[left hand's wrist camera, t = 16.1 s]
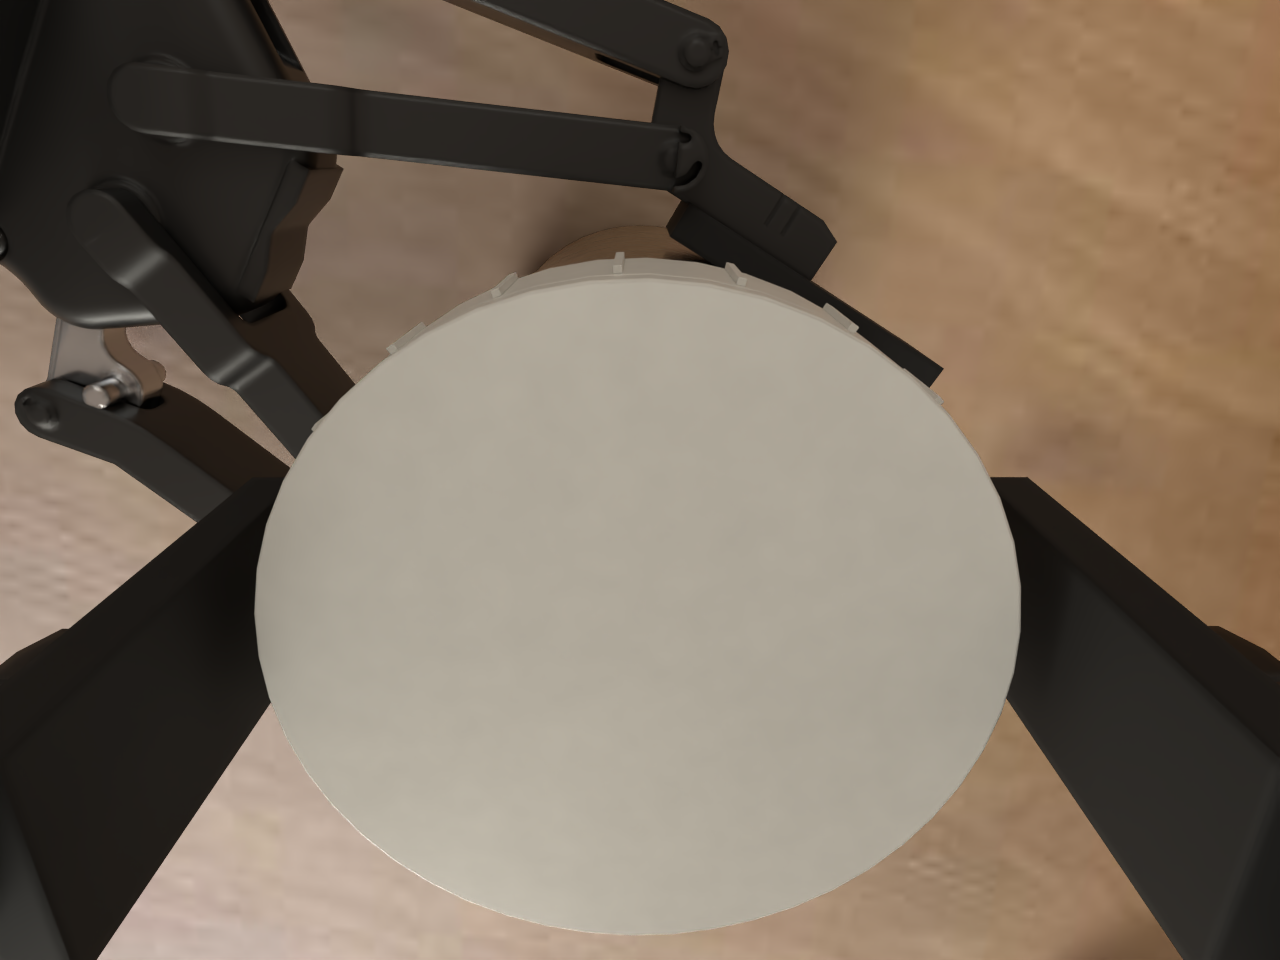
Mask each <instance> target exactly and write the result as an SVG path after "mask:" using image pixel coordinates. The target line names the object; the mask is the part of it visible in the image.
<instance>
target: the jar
mask: <svg viewBox="0 0 1280 960" xmlns="http://www.w3.org/2000/svg"><path fill="white" fill-rule="evenodd" d="M616 252H624V254H625V259H627V258H657V259H667V260H678V261H689V262H698V263H703V264H707V265H711V266H715V265H713V264H712V263H710V262H709V261H707V260H705V259H704V258H702V257H701V256H699V255H698V254H696V253H694V252H693V251H691V250H690V249H688V248H687V247H685V246H683V245H682V244H680V243H679V242H677V241H676V240H674V239H672V238H671V237H670V236H669V233H668V230H667V228H662V227H656V226H641V225H637V226H623V227H616V228H611V229H606V230H602V231H599V232H596V233H593V234H590V235H588V236H585V237H582V238H580V239H578V240H577V241H575V242H573V243H571V244H569V245H567V246H565V247H564V248H563V249H561V250H560V251H558V252H557V253H556V254H554V255H553V256H551V257H550V258H549V259H548V260H547V261H546V262H545V263H544V264H543V265H542V266H541V267H540V268H539V269H538V270H537V271H536V272H539V271H543V270H546V269H549V268H554V267H560V266H565V265H571V264H577V263H582V262H588V261H593V260H603V259H615V255H616ZM715 267H716V266H715ZM536 272H535V273H536Z"/></svg>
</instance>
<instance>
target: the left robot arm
mask: <svg viewBox="0 0 1280 960" xmlns="http://www.w3.org/2000/svg"><path fill="white" fill-rule="evenodd" d="M284 478H285V477H252V478H251V479H250V480H249V481H247V482H246V483H245V484H244V485H243V486H241V487H240V488H239V489H238V490H236V491H235V492H234V493H233V494H232V495H230V496H229V497H228V498H227V499H226V500H224V501H223V502H222V503H221V504H220V505H218V506H217V507H216V508H215V509H213V510H212V511H211V512H210V513H209V514H207V515H206V516H205V517H204V518H203V519H201V520H200V521H199V522H198V523H197V524H195V525H194V526H193V527H192V528H190V529H189V530H188V531H187V532H186V533H184V534H183V535H182V536H181V537H180V538H178V539H177V540H176V541H175V542H174V543H172V544H171V545H170V546H169V547H167V548H166V549H165V550H164V551H163V552H161V553H160V554H159V555H158V556H157V557H155V558H154V559H153V560H152V561H151V562H149V563H148V564H147V565H146V566H144V567H143V568H142V569H141V570H140V571H138V572H137V573H136V574H135V575H134V576H132V577H131V578H130V579H129V580H128V581H126V582H125V583H124V584H123V585H121V586H120V587H119V588H118V589H117V590H115V591H114V592H113V593H112V594H111V595H109V596H108V597H107V598H106V599H105V600H103V601H102V602H101V603H100V604H98V605H97V606H96V607H95V608H94V609H92V610H91V611H90V612H89V613H88V614H86V615H85V616H84V617H83V618H82V619H80V620H79V621H78V622H77V623H75V624H74V625H73V626H72V627H71V628H69V629H61V630H59V631H57V632H55V633H53V634H51V635H49V636H47V637H45V638H43V639H41V640H39V641H38V642H36V643H34V644H32V645H30V646H28V647H26V648H24V649H22V650H20V651H18V652H16V653H15V654H14V655H13V656H11V657H10V658H9V659H7V660H6V661H5V662H4V663H2V664H1V665H0V960H97V958H98V957H99V955H100V954H101V952H102V951H103V950H104V948H105V947H106V945H107V944H108V942H109V941H110V939H111V938H112V936H113V935H114V933H115V932H116V930H117V929H118V927H119V926H120V924H121V923H122V921H123V920H124V919H125V917H126V916H127V914H128V913H129V911H130V910H131V908H132V907H133V905H134V904H135V902H136V901H137V899H138V898H139V896H140V895H141V893H142V892H143V890H144V889H145V888H146V886H147V885H148V883H149V882H150V880H151V879H152V877H153V876H154V874H155V873H156V871H157V870H158V868H159V867H160V865H161V864H162V862H163V861H164V859H165V858H166V856H167V855H168V854H169V852H170V851H171V849H172V848H173V846H174V845H175V843H176V842H177V840H178V839H179V837H180V836H181V834H182V833H183V831H184V830H185V828H186V827H187V825H188V824H189V823H190V821H191V820H192V818H193V817H194V815H195V814H196V812H197V811H198V809H199V808H200V806H201V805H202V803H203V802H204V800H205V799H206V797H207V796H208V794H209V793H210V792H211V790H212V789H213V787H214V786H215V784H216V783H217V781H218V780H219V778H220V777H221V775H222V774H223V772H224V771H225V769H226V768H227V766H228V765H229V763H230V762H231V761H232V759H233V758H234V756H235V755H236V753H237V752H238V750H239V749H240V747H241V746H242V744H243V743H244V741H245V740H246V738H247V737H248V735H249V734H250V732H251V731H252V729H253V728H254V727H255V725H256V724H257V722H258V721H259V719H260V718H261V716H262V715H263V713H264V712H265V710H266V709H267V707H268V706H269V704H270V703H271V701H270V698H269V695H268V691H267V687H266V683H265V679H264V675H263V672H262V668H261V664H260V660H259V655H258V645H257V635H256V625H255V615H254V611H255V592H256V574H257V565H258V560H259V556H260V551H261V546H262V542H263V537H264V532H265V528H266V524H267V521H268V518H269V516H270V513H271V511H272V508H273V506H274V503H275V500H276V498H277V495H278V493H279V490H280V488H281V485H282V482H283V480H284ZM990 479H991V481H992V483H993V485H994V487H995V488H996V490H997V492H998V494H999V496H1000V499H1001V502H1002V505H1003V508H1004V511H1005V515H1006V518H1007V521H1008V524H1009V527H1010V530H1011V533H1012V536H1013V540H1014V544H1015V550H1016V557H1017V563H1018V570H1019V577H1020V583H1021V632H1020V639H1019V645H1018V651H1017V657H1016V664H1015V670H1014V675H1013V678H1012V681H1011V684H1010V687H1009V690H1008V694H1007V697H1006V698H1007V700H1008V701H1009V703H1010V704H1011V706H1012V707H1013V709H1014V710H1015V712H1016V713H1017V715H1018V716H1019V718H1020V719H1021V721H1022V722H1023V724H1024V725H1025V727H1026V728H1027V730H1028V731H1029V732H1030V734H1031V735H1032V737H1033V738H1034V740H1035V741H1036V743H1037V744H1038V746H1039V747H1040V749H1041V750H1042V752H1043V753H1044V755H1045V756H1046V758H1047V759H1048V761H1049V762H1050V763H1051V765H1052V766H1053V768H1054V769H1055V771H1056V772H1057V774H1058V775H1059V777H1060V778H1061V780H1062V781H1063V783H1064V784H1065V786H1066V787H1067V789H1068V790H1069V792H1070V793H1071V794H1072V796H1073V797H1074V799H1075V800H1076V802H1077V803H1078V805H1079V806H1080V808H1081V809H1082V811H1083V812H1084V814H1085V815H1086V817H1087V818H1088V820H1089V821H1090V823H1091V824H1092V825H1093V827H1094V828H1095V830H1096V831H1097V833H1098V834H1099V836H1100V837H1101V839H1102V840H1103V842H1104V843H1105V845H1106V846H1107V848H1108V849H1109V851H1110V852H1111V854H1112V855H1113V857H1114V858H1115V859H1116V861H1117V862H1118V864H1119V865H1120V867H1121V868H1122V870H1123V871H1124V873H1125V874H1126V876H1127V877H1128V879H1129V880H1130V882H1131V883H1132V885H1133V886H1134V888H1135V889H1136V890H1137V892H1138V893H1139V895H1140V896H1141V898H1142V899H1143V901H1144V902H1145V904H1146V905H1147V907H1148V908H1149V910H1150V911H1151V913H1152V914H1153V916H1154V917H1155V919H1156V920H1157V921H1158V923H1159V924H1160V926H1161V927H1162V929H1163V930H1164V932H1165V933H1166V935H1167V936H1168V938H1169V939H1170V941H1171V942H1172V944H1173V945H1174V947H1175V948H1176V950H1177V951H1178V952H1179V954H1180V955H1181V957H1182V958H1183V960H1280V661H1279V660H1277V659H1276V658H1275V657H1273V656H1272V655H1271V654H1270V653H1268V652H1267V651H1266V650H1265V649H1263V648H1261V647H1259V646H1257V645H1255V644H1253V643H1251V642H1249V641H1247V640H1245V639H1243V638H1241V637H1239V636H1237V635H1235V634H1233V633H1231V632H1229V631H1227V630H1225V629H1223V628H1221V627H1219V626H1207V625H1206V624H1205V623H1203V622H1202V621H1201V620H1200V619H1198V618H1197V617H1196V616H1195V615H1194V614H1192V613H1191V612H1190V611H1189V610H1188V609H1186V608H1185V607H1184V606H1183V605H1182V604H1180V603H1179V602H1178V601H1177V600H1175V599H1174V598H1173V597H1172V596H1171V595H1169V594H1168V593H1167V592H1166V591H1165V590H1163V589H1162V588H1161V587H1160V586H1159V585H1157V584H1156V583H1155V582H1154V581H1152V580H1151V579H1150V578H1149V577H1148V576H1146V575H1145V574H1144V573H1143V572H1142V571H1140V570H1139V569H1138V568H1137V567H1136V566H1134V565H1133V564H1132V563H1131V562H1129V561H1128V560H1127V559H1126V558H1125V557H1123V556H1122V555H1121V554H1120V553H1119V552H1117V551H1116V550H1115V549H1114V548H1113V547H1111V546H1110V545H1109V544H1108V543H1106V542H1105V541H1104V540H1103V539H1102V538H1100V537H1099V536H1098V535H1097V534H1096V533H1094V532H1093V531H1092V530H1091V529H1090V528H1088V527H1087V526H1086V525H1085V524H1083V523H1082V522H1081V521H1080V520H1079V519H1077V518H1076V517H1075V516H1074V515H1073V514H1071V513H1070V512H1069V511H1068V510H1067V509H1065V508H1064V507H1063V506H1062V505H1060V504H1059V503H1058V502H1057V501H1056V500H1054V499H1053V498H1052V497H1051V496H1050V495H1048V494H1047V493H1046V492H1045V491H1043V490H1042V489H1041V488H1040V487H1039V486H1037V485H1036V484H1035V483H1034V482H1033V481H1031V480H1030V479H1029V478H1028V477H990Z"/></svg>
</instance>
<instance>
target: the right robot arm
mask: <svg viewBox="0 0 1280 960" xmlns="http://www.w3.org/2000/svg"><path fill="white" fill-rule="evenodd" d="M444 1H446V2H449V3H451V4H454V5H456V6H459V7H461V8H464V9H466V10H469V11H471V12H474V13H476V14H479V15H481V16H484V17H486V18H489V19H491V20H494V21H496V22H499V23H501V24H504V25H506V26H509V27H511V28H514V29H516V30H519V31H521V32H524V33H526V34H529V35H531V36H534V37H536V38H539V39H541V40H544V41H546V42H549V43H551V44H554V45H556V46H559V47H561V48H564V49H566V50H569V51H571V52H574V53H576V54H579V55H581V56H584V57H586V58H589V59H591V60H594V61H596V62H599V63H601V64H604V65H606V66H609V67H611V68H614V69H616V70H619V71H621V72H624V73H626V74H629V75H631V76H634V77H636V78H639V79H641V80H644V81H646V82H649V83H651V84H654V85H656V86H658V89H657V95H656V100H655V105H654V111H653V116H652V121H651V123H647V122H639V121H630V120H621V119H613V118H604V117H595V116H587V115H578V114H569V113H560V112H552V111H543V110H534V109H526V108H517V107H508V106H500V105H491V104H482V103H473V102H465V101H456V100H447V99H439V98H430V97H421V96H413V95H404V94H395V93H387V92H378V91H369V90H361V89H355V88H348V87H342V86H334V85H326V84H318V83H310V81H309V79H308V77H307V75H306V73H305V71H304V69H303V67H302V65H301V63H300V61H299V59H298V58H297V56H296V54H295V52H294V50H293V48H292V46H291V44H290V42H289V40H288V38H287V36H286V34H285V32H284V30H283V28H282V27H281V25H280V23H279V21H278V19H277V17H276V15H275V13H274V11H273V9H272V7H271V5H270V3H269V1H268V0H0V264H1V265H2V266H4V267H5V268H7V269H8V270H9V271H10V272H12V273H13V274H14V275H15V276H16V277H17V278H18V279H19V280H21V281H22V282H23V283H24V285H25V286H26V287H27V288H28V289H29V290H30V291H31V292H32V294H33V295H34V296H35V297H36V299H37V300H38V301H39V302H40V303H41V305H42V306H43V307H45V308H46V309H47V310H48V311H49V312H50V313H52V314H53V315H54V316H56V317H57V319H56V325H55V332H54V339H53V345H52V352H51V359H50V365H49V372H48V378H47V380H46V382H43V383H40V384H38V385H35V386H32V387H30V388H27V389H25V390H23V391H22V392H21V393H20V394H18V396H17V398H16V401H15V413H16V415H17V417H18V419H19V421H20V423H21V424H22V425H23V426H24V427H25V428H26V429H27V430H28V431H29V432H31V433H32V434H34V435H36V436H38V437H40V438H43V439H46V440H49V441H51V442H54V443H57V444H60V445H63V446H65V447H68V448H71V449H74V450H77V451H79V452H82V453H85V454H88V455H91V456H93V457H96V458H99V459H102V460H105V461H108V462H110V463H113V464H115V465H117V466H118V467H119V468H121V469H122V470H124V471H125V472H127V473H128V474H129V475H131V476H132V477H134V478H135V479H136V480H138V481H139V482H141V483H142V484H144V485H145V486H146V487H148V488H149V489H151V490H152V491H153V492H155V493H156V494H158V495H159V496H160V497H162V498H163V499H165V500H166V501H168V502H169V503H170V504H172V505H173V506H175V507H176V508H177V509H179V510H180V511H182V512H183V513H185V514H186V515H187V516H189V517H190V518H192V519H193V520H194V521H196V522H197V523H198V522H199V521H200V520H201V519H203V518H204V517H205V516H206V515H207V514H209V513H210V512H211V511H212V510H213V509H215V508H216V507H217V506H218V505H220V504H221V503H222V502H223V501H224V500H226V499H227V498H228V497H229V496H230V495H232V494H233V493H234V492H235V491H236V490H238V489H239V488H240V487H241V486H243V485H244V484H245V483H246V482H247V481H249V480H250V479H251V478H252V477H286V475H287V473H288V471H289V470H290V467H288V466H287V465H286V464H284V463H283V462H282V461H280V460H279V459H278V458H276V457H275V456H274V455H272V454H271V453H270V452H268V451H267V450H266V449H264V448H263V447H262V446H260V445H259V444H258V443H256V442H255V441H254V440H252V439H251V438H250V437H248V436H247V435H246V434H244V433H243V432H242V431H240V430H239V429H238V428H236V427H235V426H234V425H232V424H231V423H230V422H228V421H227V420H226V419H224V418H223V417H222V416H220V415H219V414H218V413H216V412H215V411H214V410H212V409H211V408H209V407H208V406H207V405H205V404H204V403H202V402H201V401H199V400H198V399H196V398H194V397H192V396H191V395H189V394H187V393H185V392H183V391H182V390H180V389H178V388H175V387H173V386H171V385H168V384H166V383H164V382H163V381H164V379H165V378H166V371H165V369H164V367H163V366H162V365H161V364H160V363H159V362H157V361H154V360H148V359H146V358H145V357H143V356H142V355H140V354H139V353H137V351H136V350H135V349H134V348H133V347H132V346H131V344H130V342H129V341H128V338H127V335H126V327H136V326H148V325H160V324H161V325H162V327H163V328H164V329H165V330H166V331H167V332H168V333H169V335H170V336H171V337H172V338H173V339H174V340H175V341H176V342H177V344H178V345H179V346H180V347H181V348H182V349H183V350H184V351H185V353H186V354H187V355H188V356H189V357H190V358H191V359H192V361H193V362H194V363H195V364H196V365H197V366H198V367H199V368H200V370H201V371H202V372H203V373H204V374H205V375H206V376H207V377H209V378H210V379H211V380H213V381H214V382H216V383H218V384H221V385H224V386H227V387H230V388H232V389H233V390H235V391H236V392H237V393H238V394H239V395H240V396H241V397H242V399H243V400H244V401H245V402H246V403H247V404H248V405H249V407H250V408H251V409H252V410H253V411H254V412H255V413H256V415H257V416H258V417H259V418H260V419H261V420H262V421H263V423H264V424H265V425H266V426H267V427H268V428H269V429H270V431H271V432H272V433H273V434H274V435H275V436H276V437H277V439H278V440H279V441H280V442H281V443H282V444H283V445H284V446H285V448H286V449H287V450H288V451H289V452H290V453H291V454H292V456H293V457H294V458H295V459H296V458H297V456H298V454H299V453H300V451H301V449H302V447H303V446H304V444H305V442H306V441H307V439H308V437H309V436H310V435H311V434H312V433H313V431H312V428H313V426H314V425H315V423H317V422H318V421H319V420H320V419H321V418H323V417H324V416H325V415H326V414H328V413H329V412H330V410H331V409H332V408H333V407H334V405H335V404H336V403H337V402H338V401H339V399H340V398H341V397H343V396H344V395H345V394H346V393H347V392H348V391H349V390H350V389H351V388H352V387H354V386H355V384H354V382H353V381H352V380H351V379H350V377H349V376H348V375H347V374H346V372H345V371H344V370H343V369H342V368H341V366H340V365H339V364H338V363H337V361H336V360H335V359H334V358H333V357H332V355H331V354H330V353H329V352H328V350H327V349H326V348H325V347H324V346H323V344H322V343H321V342H320V341H319V339H318V338H317V336H316V333H315V326H314V323H313V321H312V318H311V317H310V316H309V314H308V313H307V311H306V310H305V309H304V308H303V306H302V305H301V304H300V303H299V301H298V300H297V299H296V298H295V296H294V295H293V294H292V293H291V292H290V290H289V289H291V288H292V285H293V283H294V281H295V279H296V276H297V274H298V272H299V269H300V267H301V265H302V263H303V260H304V253H305V245H306V237H307V230H308V226H309V224H310V222H311V221H312V220H313V219H314V218H315V216H316V215H317V214H318V213H319V212H320V211H321V209H322V208H323V207H324V206H325V205H326V204H327V202H328V201H329V200H330V199H331V196H332V194H333V192H334V189H335V187H336V185H337V183H338V180H339V178H340V176H341V173H342V171H343V168H342V167H340V166H338V165H337V164H336V160H337V154H338V155H349V156H362V157H371V158H380V159H389V160H398V161H407V162H416V163H425V164H434V165H443V166H452V167H461V168H470V169H479V170H488V171H497V172H506V173H515V174H524V175H533V176H542V177H551V178H559V179H568V180H577V181H586V182H595V183H604V184H613V185H622V186H631V187H640V188H649V189H658V190H667V191H668V192H670V193H671V194H673V195H674V196H676V197H677V198H679V199H680V200H681V202H680V204H679V205H678V207H677V209H676V210H675V212H674V214H673V215H672V217H671V219H670V220H669V222H668V224H667V225H666V228H667V230H668V233H669V236H670V237H671V238H672V239H674V240H676V241H677V242H679V243H680V244H682V245H683V246H685V247H687V248H688V249H690V250H691V251H693V252H694V253H696V254H698V255H699V256H701V257H702V258H704V259H705V260H707V261H709V262H710V263H712V264H713V265H715V266H716V267H720V268H724V269H725V265H726V263H727V262H728V263H732V264H734V265H735V266H736V267H737V268H738V269H739V270H740V271H741V273H745V274H748V275H751V276H753V277H756V278H758V279H761V280H764V281H766V282H769V283H771V284H774V285H777V286H779V287H782V288H784V289H787V290H790V291H792V292H794V293H795V294H797V295H799V296H801V297H803V298H805V299H806V300H808V301H810V302H812V303H814V304H815V305H817V306H819V307H821V308H823V307H824V306H825V304H826V303H828V304H829V305H831V306H832V307H834V308H835V309H836V310H838V311H839V312H840V313H842V314H843V315H844V316H845V317H847V318H848V319H849V320H851V321H852V322H853V323H854V324H856V325H857V326H858V327H859V328H858V330H857V331H856V332H857V333H858V334H860V335H861V336H862V337H864V338H865V339H866V340H867V341H869V342H870V343H871V344H873V345H874V346H875V347H876V348H878V349H879V350H880V351H881V352H882V353H884V354H885V355H886V356H887V357H889V358H890V359H891V360H892V361H894V362H895V363H896V364H897V365H899V366H900V367H901V368H902V369H904V368H905V369H906V370H907V371H909V372H910V373H911V374H912V375H914V376H915V377H916V378H917V379H919V380H920V381H921V382H922V383H924V384H925V385H926V386H927V387H930V386H931V385H932V384H933V382H934V381H935V380H936V378H937V377H938V376H939V374H940V373H941V372H942V370H943V369H944V368H942V367H941V366H939V365H938V364H936V363H935V362H934V361H932V360H931V359H929V358H928V357H926V356H925V355H923V354H922V353H921V352H919V351H918V350H916V349H915V348H913V347H912V346H911V345H909V344H908V343H906V342H905V341H903V340H902V339H900V338H899V337H897V336H896V335H894V334H892V333H891V332H889V331H888V330H886V329H885V328H883V327H882V326H880V325H879V324H877V323H876V322H874V321H872V320H871V319H869V318H868V317H866V316H865V315H863V314H862V313H860V312H859V311H857V310H856V309H854V308H852V307H851V306H849V305H848V304H846V303H845V302H843V301H842V300H840V299H839V298H837V297H836V296H834V295H833V294H831V293H829V292H828V291H826V290H825V289H823V288H822V287H820V286H819V285H817V284H816V283H814V282H813V281H811V280H812V278H813V277H814V275H815V274H816V272H817V271H818V270H819V268H820V267H821V265H822V264H823V262H824V261H825V259H826V258H827V256H828V255H829V253H830V252H831V250H832V249H833V247H834V246H835V244H836V243H837V241H836V240H835V238H834V237H833V235H832V233H831V232H830V230H829V229H828V227H827V226H826V224H825V222H824V221H823V220H822V219H820V218H819V217H817V216H816V215H814V214H813V213H811V212H810V211H808V210H807V209H805V208H804V207H802V206H801V205H799V204H798V203H796V202H795V201H793V200H792V199H790V198H789V197H787V196H786V195H784V194H783V193H781V192H780V191H778V190H777V189H775V188H774V187H772V186H771V185H769V184H768V183H767V182H765V181H764V180H762V179H761V178H759V177H758V176H756V175H755V174H753V173H752V172H750V171H749V170H747V169H746V168H744V167H743V166H741V165H740V164H738V163H737V162H735V161H734V160H732V159H731V158H730V157H729V156H727V155H726V154H725V153H724V152H723V150H722V149H721V147H720V146H719V144H718V142H717V139H716V137H715V132H714V114H715V109H716V104H717V100H718V95H719V90H720V86H721V81H722V76H723V71H724V68H725V67H726V65H727V59H728V53H729V49H728V44H727V39H726V36H725V35H724V33H723V31H722V30H721V28H720V27H719V26H718V25H717V24H715V23H714V22H712V21H711V20H710V19H708V18H705V17H703V16H701V15H698V14H696V13H693V12H691V11H688V10H686V9H684V8H681V7H679V6H676V5H674V4H672V3H669V2H667V1H664V0H444ZM239 315H240V317H241V318H242V319H243V320H242V319H241V318H240V317H239Z"/></svg>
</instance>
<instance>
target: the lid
mask: <svg viewBox="0 0 1280 960" xmlns="http://www.w3.org/2000/svg"><path fill="white" fill-rule="evenodd" d="M858 328H859V327H858V326H857V325H856V324H854V323H853V322H852V321H851V320H849V319H848V318H847V317H845V316H844V315H843V314H842V313H840V312H839V311H838V310H836V309H835V308H834V307H832V306H831V305H829V304H828V303H826V304H825V306H824V307H823V308H821V307H819V306H817V305H815V304H814V303H812V302H810V301H808V300H806V299H805V298H803V297H801V296H799V295H797V294H795V293H794V292H792V291H790V290H787V289H784V288H782V287H779V286H777V285H774V284H771V283H769V282H766V281H764V280H761V279H758V278H756V277H753V276H751V275H748V274H745V273H741V271H740V270H739V269H738V268H737V267H736V266H735V265H734V264H732V263H728V262H727V263H726V265H725V269H724V268H720V267H715V266H711V265H707V264H703V263H698V262H689V261H678V260H667V259H657V258H627V259H625V254H624V252H616V255H615V259H603V260H593V261H588V262H582V263H577V264H571V265H565V266H560V267H554V268H549V269H546V270H543V271H539V272H536V273H533V274H530V275H527V276H524V277H521V278H518V276H517V274H516V272H514V273H511V274H509V275H508V276H506V277H505V278H504V279H503V280H502V281H501V282H500V283H499V284H498V285H496V286H495V287H494V288H492V289H490V290H488V291H486V292H484V293H482V294H480V295H478V296H476V297H474V298H471V299H469V300H467V301H465V302H463V303H461V304H459V305H458V306H456V307H455V308H453V309H452V310H450V311H449V312H447V313H446V314H444V315H443V316H441V317H440V318H438V319H437V320H435V321H434V322H432V323H431V324H429V325H428V326H427V327H426V326H425V324H424V323H423V322H420V323H419V324H418V325H417V326H415V327H414V328H413V329H411V330H410V331H409V332H407V333H406V334H405V335H403V336H402V337H401V338H399V339H398V340H397V341H395V342H394V343H393V344H391V345H390V346H389V347H387V348H386V349H387V351H388V352H389V353H390V355H389V356H388V357H386V358H385V359H384V360H383V361H381V362H380V363H379V364H378V365H377V366H375V367H374V368H373V369H372V370H371V371H370V372H369V373H368V374H367V375H366V376H365V377H363V378H362V379H361V380H360V381H359V382H358V383H357V384H356V385H355V386H354V387H352V388H351V389H350V390H349V391H348V392H347V393H346V394H345V395H344V396H343V397H341V398H340V399H339V401H338V402H337V403H336V404H335V405H334V407H333V408H332V409H331V410H330V412H329V413H328V414H326V415H325V416H324V417H323V418H321V419H320V420H319V421H318V422H317V423H315V425H314V426H313V428H312V431H313V433H312V434H311V435H310V436H309V437H308V439H307V441H306V442H305V444H304V446H303V447H302V449H301V451H300V453H299V454H298V456H297V458H296V459H295V461H294V463H293V465H292V466H291V468H290V470H289V471H288V473H287V475H286V477H285V478H284V480H283V482H282V485H281V488H280V490H279V493H278V495H277V498H276V500H275V503H274V506H273V508H272V511H271V513H270V516H269V518H268V521H267V524H266V528H265V532H264V537H263V542H262V546H261V551H260V556H259V560H258V565H257V574H256V592H255V611H254V615H255V625H256V635H257V645H258V655H259V660H260V664H261V668H262V672H263V675H264V679H265V683H266V687H267V691H268V695H269V698H270V701H271V703H272V706H273V708H274V710H275V713H276V715H277V718H278V720H279V722H280V725H281V727H282V730H283V732H284V734H285V737H286V738H287V740H288V742H289V743H290V745H291V747H292V749H293V750H294V752H295V754H296V755H297V757H298V759H299V760H300V762H301V764H302V766H303V767H304V769H305V771H306V772H307V774H308V775H309V776H310V777H311V779H312V780H313V781H314V783H315V784H316V785H317V786H318V788H319V789H320V790H321V792H322V793H323V794H324V795H325V797H326V798H327V799H328V801H329V802H330V803H331V804H332V806H333V807H334V808H335V809H336V810H337V811H338V812H339V813H340V814H341V815H342V816H343V817H344V818H345V819H346V820H347V821H348V822H349V823H350V824H351V825H352V826H353V827H354V828H355V829H356V830H357V831H358V832H359V833H360V834H361V835H363V836H364V837H365V838H366V839H368V840H369V841H370V842H371V843H373V844H374V845H375V846H376V847H378V848H379V849H380V850H381V851H383V852H384V853H385V854H387V855H388V856H389V857H390V858H392V859H393V860H394V861H396V862H397V863H399V864H401V865H402V866H404V867H405V868H407V869H408V870H410V871H412V872H413V873H415V874H416V875H418V876H420V877H421V878H423V879H424V880H426V881H428V882H429V883H431V884H433V885H435V886H437V887H439V888H441V889H444V890H446V891H448V892H450V893H452V894H454V895H456V896H458V897H460V898H462V899H464V900H466V901H468V902H471V903H474V904H477V905H479V906H482V907H485V908H487V909H490V910H493V911H496V912H498V913H501V914H504V915H506V916H510V917H514V918H518V919H522V920H526V921H529V922H533V923H537V924H541V925H545V926H550V927H556V928H562V929H568V930H575V931H581V932H587V933H601V934H616V935H663V934H678V933H686V932H694V931H702V930H710V929H716V928H721V927H726V926H730V925H735V924H739V923H744V922H748V921H753V920H756V919H759V918H763V917H766V916H769V915H772V914H775V913H778V912H781V911H784V910H787V909H790V908H793V907H796V906H798V905H800V904H803V903H805V902H807V901H809V900H812V899H814V898H816V897H819V896H821V895H823V894H825V893H828V892H830V891H832V890H834V889H836V888H838V887H839V886H841V885H843V884H845V883H846V882H848V881H850V880H852V879H853V878H855V877H857V876H859V875H860V874H862V873H864V872H866V871H867V870H869V869H870V868H872V867H873V866H875V865H876V864H877V863H879V862H880V861H881V860H883V859H884V858H886V857H887V856H888V855H890V854H891V853H892V852H894V851H895V850H897V849H898V848H899V847H901V846H902V845H903V844H904V843H906V842H907V841H908V840H909V839H910V838H911V837H912V836H913V835H914V834H915V833H916V832H918V831H919V830H920V829H921V828H922V827H923V826H924V825H925V824H926V823H927V822H928V821H930V820H931V819H932V818H933V817H934V816H935V815H936V813H937V812H938V811H939V810H940V809H941V808H942V806H943V805H944V804H945V803H946V802H947V801H948V799H949V798H950V797H951V796H952V795H953V794H954V792H955V791H956V790H957V789H958V788H959V787H960V785H961V784H962V782H963V781H964V779H965V778H966V776H967V775H968V773H969V772H970V770H971V769H972V767H973V766H974V764H975V763H976V761H977V760H978V758H979V756H980V755H981V753H982V752H983V750H984V748H985V746H986V744H987V742H988V740H989V738H990V736H991V734H992V731H993V729H994V727H995V725H996V723H997V721H998V719H999V717H1000V715H1001V713H1002V709H1003V706H1004V703H1005V700H1006V697H1007V694H1008V690H1009V687H1010V684H1011V681H1012V678H1013V675H1014V670H1015V664H1016V657H1017V651H1018V645H1019V639H1020V632H1021V583H1020V577H1019V570H1018V563H1017V557H1016V550H1015V544H1014V540H1013V536H1012V533H1011V530H1010V527H1009V524H1008V521H1007V518H1006V515H1005V511H1004V508H1003V505H1002V502H1001V499H1000V496H999V494H998V492H997V490H996V488H995V487H994V485H993V483H992V481H991V479H990V477H989V475H988V473H987V471H986V469H985V467H984V465H983V463H982V461H981V459H980V457H979V455H978V453H977V452H976V451H975V449H974V448H973V446H972V445H971V444H970V442H969V441H968V439H967V438H966V437H965V435H964V434H963V433H962V431H961V430H960V428H959V427H958V426H957V424H956V423H955V421H954V420H953V419H952V417H951V416H950V414H949V413H948V412H947V411H946V410H945V409H944V408H943V407H942V406H941V404H942V403H944V401H943V400H942V399H941V397H940V396H939V395H937V394H936V393H935V392H934V391H932V390H931V389H930V388H929V387H927V386H926V385H925V384H924V383H922V382H921V381H920V380H919V379H917V378H916V377H915V376H914V375H912V374H911V373H910V372H909V371H907V370H906V369H905V368H904V369H902V368H901V367H900V366H899V365H897V364H896V363H895V362H894V361H892V360H891V359H890V358H889V357H887V356H886V355H885V354H884V353H882V352H881V351H880V350H879V349H878V348H876V347H875V346H874V345H873V344H871V343H870V342H869V341H867V340H866V339H865V338H864V337H862V336H861V335H860V334H858V333H857V332H856V331H857V330H858Z"/></svg>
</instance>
